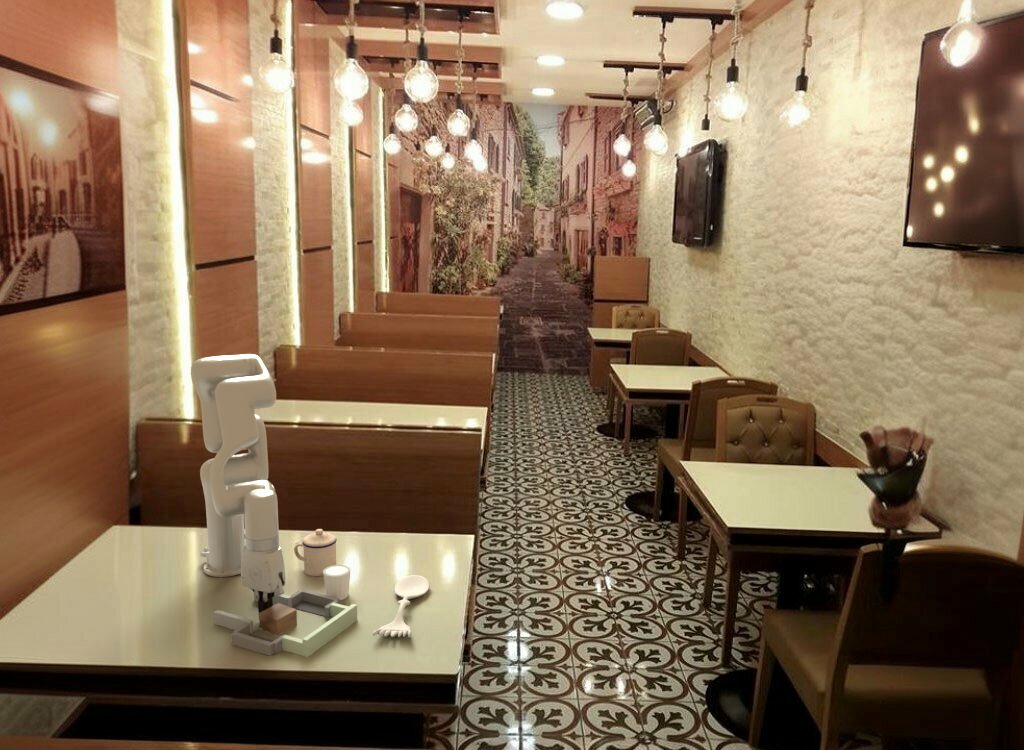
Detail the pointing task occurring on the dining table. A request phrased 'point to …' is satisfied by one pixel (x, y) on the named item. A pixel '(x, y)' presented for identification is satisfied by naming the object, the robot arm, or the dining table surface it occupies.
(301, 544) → the teacup with lid
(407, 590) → the spoon
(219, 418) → the robot arm
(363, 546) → the dining table surface
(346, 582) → the shot glass
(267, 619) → the walnut block
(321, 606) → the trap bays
